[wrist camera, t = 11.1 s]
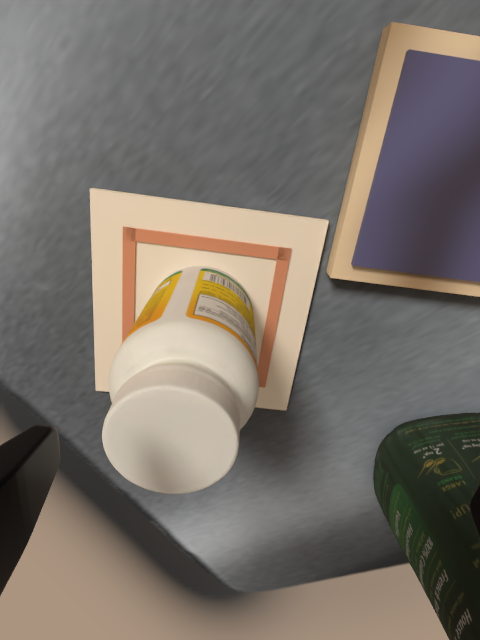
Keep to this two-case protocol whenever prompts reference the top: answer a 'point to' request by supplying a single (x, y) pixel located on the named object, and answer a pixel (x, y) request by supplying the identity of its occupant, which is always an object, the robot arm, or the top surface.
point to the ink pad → (416, 168)
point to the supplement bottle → (183, 383)
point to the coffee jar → (436, 511)
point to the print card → (204, 250)
